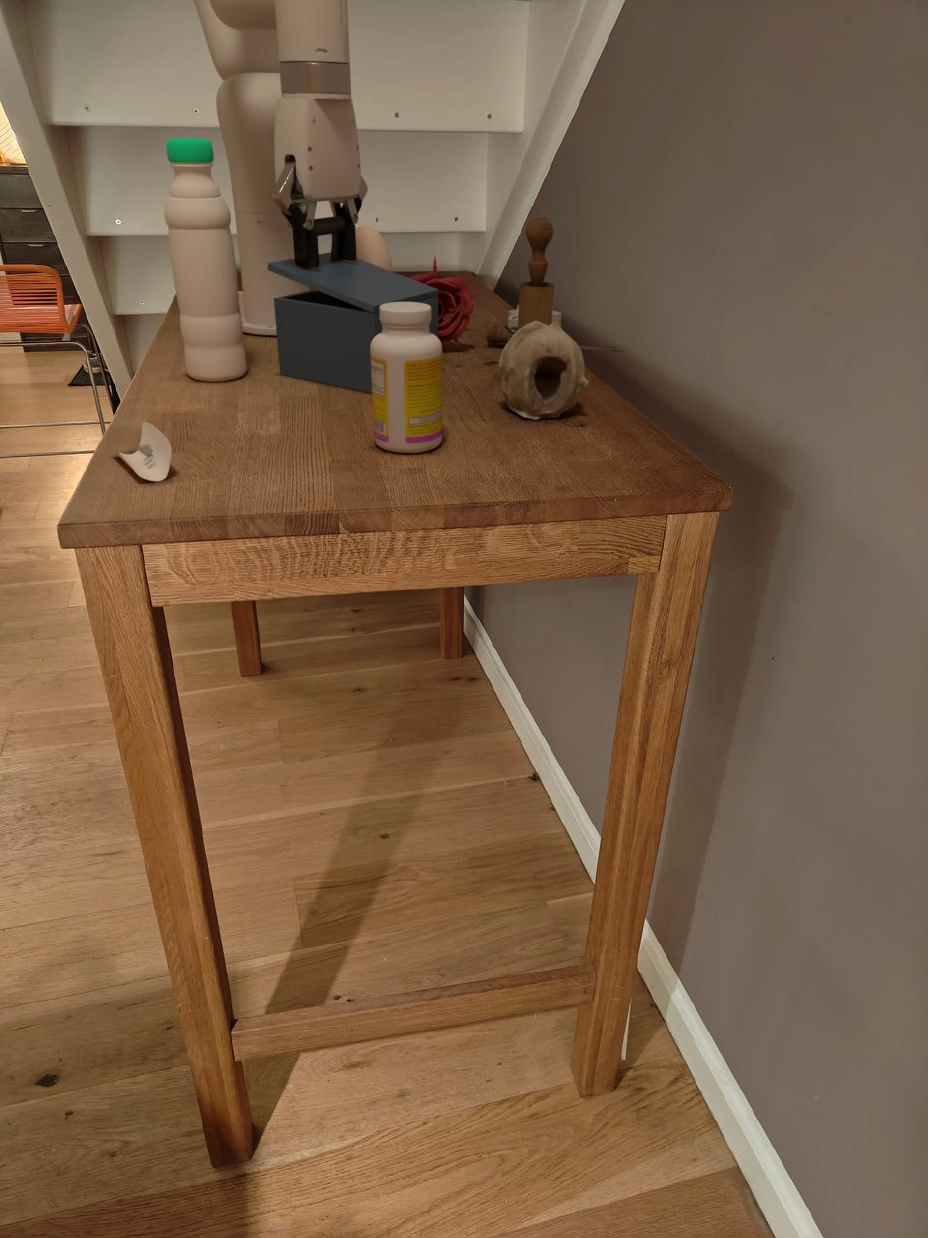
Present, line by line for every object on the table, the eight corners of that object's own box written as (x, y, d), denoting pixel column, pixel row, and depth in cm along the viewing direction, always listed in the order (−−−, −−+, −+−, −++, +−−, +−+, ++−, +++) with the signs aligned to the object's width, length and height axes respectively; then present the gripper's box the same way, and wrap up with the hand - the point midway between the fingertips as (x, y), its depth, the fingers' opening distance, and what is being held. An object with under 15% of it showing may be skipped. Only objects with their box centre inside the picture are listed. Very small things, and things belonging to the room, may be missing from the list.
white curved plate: (144, 416, 81) (110, 412, 79) (173, 441, 75) (138, 436, 73) (138, 455, 82) (105, 451, 80) (167, 482, 76) (132, 478, 75)
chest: (280, 374, 107) (273, 298, 102) (345, 353, 116) (342, 283, 111) (376, 394, 100) (373, 313, 95) (438, 370, 109) (438, 296, 105)
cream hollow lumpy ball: (500, 430, 97) (473, 340, 94) (556, 405, 101) (533, 317, 97) (554, 427, 89) (527, 328, 86) (613, 399, 93) (589, 304, 90)
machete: (638, 340, 122) (644, 346, 117) (634, 360, 123) (639, 366, 118) (487, 320, 121) (487, 325, 117) (485, 340, 122) (485, 346, 118)
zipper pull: (490, 342, 119) (490, 309, 117) (512, 322, 135) (513, 292, 133) (548, 345, 118) (549, 311, 116) (563, 324, 133) (565, 294, 131)
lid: (267, 269, 101) (269, 216, 97) (337, 257, 110) (342, 207, 107) (373, 313, 95) (380, 258, 92) (437, 296, 105) (445, 245, 101)
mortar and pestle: (566, 378, 107) (578, 216, 98) (547, 391, 102) (559, 222, 93) (515, 371, 110) (523, 213, 101) (495, 384, 104) (501, 218, 95)
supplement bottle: (451, 437, 87) (453, 302, 81) (427, 459, 82) (427, 316, 75) (389, 429, 89) (386, 296, 83) (362, 450, 84) (356, 309, 77)
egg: (395, 305, 143) (394, 229, 137) (342, 306, 142) (338, 229, 136) (389, 295, 150) (388, 222, 145) (338, 296, 149) (335, 222, 143)
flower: (477, 265, 139) (483, 253, 110) (475, 343, 143) (481, 351, 114) (397, 263, 139) (383, 251, 110) (397, 342, 142) (384, 350, 114)
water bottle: (232, 384, 102) (204, 139, 89) (176, 380, 103) (140, 137, 91) (256, 369, 108) (233, 137, 95) (203, 365, 109) (173, 136, 97)
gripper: (339, 86, 103) (347, 252, 112) (232, 81, 90) (251, 268, 99) (391, 86, 99) (395, 257, 108) (288, 80, 87) (302, 275, 96)
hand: (326, 261), depth 104 cm, fingers closed on lid, 6 cm apart
